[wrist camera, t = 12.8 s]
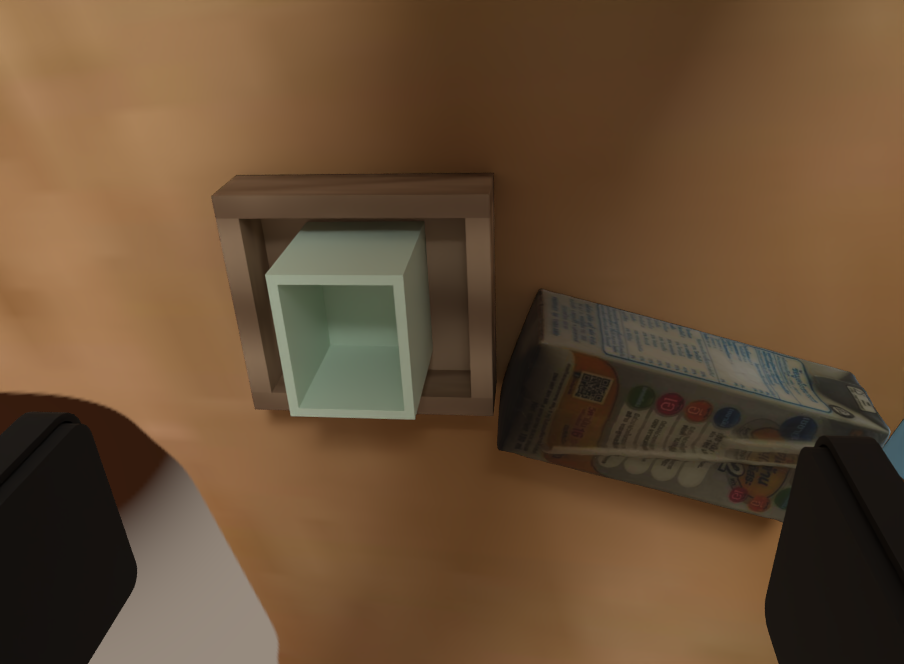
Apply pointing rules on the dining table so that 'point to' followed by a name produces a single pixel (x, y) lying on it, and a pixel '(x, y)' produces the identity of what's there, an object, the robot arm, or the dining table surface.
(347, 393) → the small crate
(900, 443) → the vase
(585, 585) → the dining table surface
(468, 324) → the walnut crate
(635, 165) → the dining table surface
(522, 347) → the beverage carton
